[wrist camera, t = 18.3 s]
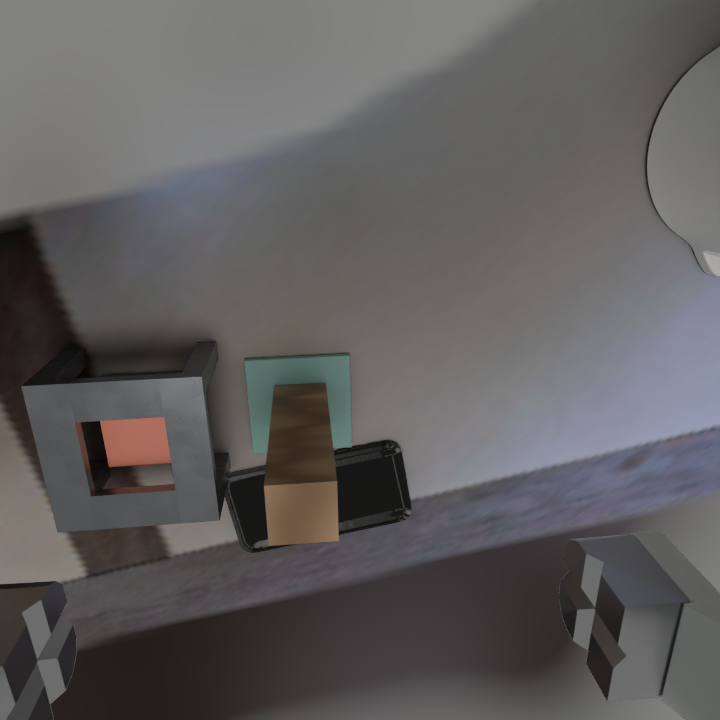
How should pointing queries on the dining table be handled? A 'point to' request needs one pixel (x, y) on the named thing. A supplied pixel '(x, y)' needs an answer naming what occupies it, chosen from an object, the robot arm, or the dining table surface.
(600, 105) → the dining table surface
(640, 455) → the dining table surface
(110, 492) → the frame
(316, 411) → the peg
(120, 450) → the salmon pink panel
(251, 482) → the phone
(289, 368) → the mat
